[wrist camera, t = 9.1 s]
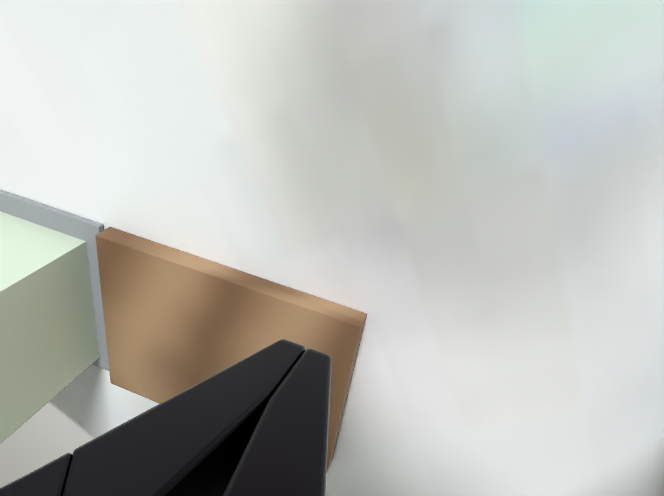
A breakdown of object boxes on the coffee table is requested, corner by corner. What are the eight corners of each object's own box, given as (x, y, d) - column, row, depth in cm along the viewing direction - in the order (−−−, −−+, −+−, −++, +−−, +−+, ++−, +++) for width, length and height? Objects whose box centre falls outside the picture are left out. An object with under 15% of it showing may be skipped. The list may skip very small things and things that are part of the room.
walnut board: (367, 313, 22) (360, 327, 21) (332, 457, 27) (326, 472, 26) (109, 226, 25) (95, 235, 24) (122, 371, 30) (110, 383, 29)
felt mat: (103, 224, 25) (98, 226, 25) (116, 369, 30) (113, 372, 30) (-46, 174, 27) (-52, 175, 27) (-10, 318, 32) (-14, 320, 32)
